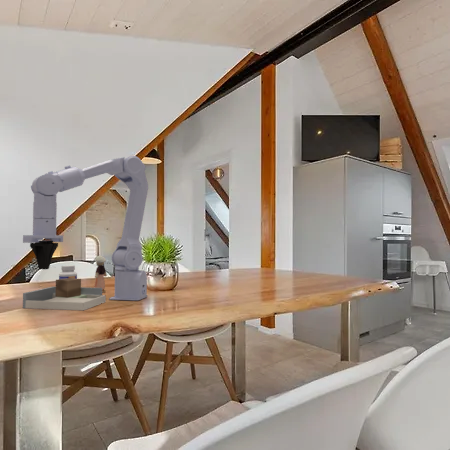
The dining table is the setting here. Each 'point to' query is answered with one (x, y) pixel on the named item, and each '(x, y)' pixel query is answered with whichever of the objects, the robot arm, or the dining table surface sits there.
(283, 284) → the dining table surface
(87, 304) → the board
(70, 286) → the walnut block
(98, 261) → the grandmother figurine
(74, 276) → the pill bottle
